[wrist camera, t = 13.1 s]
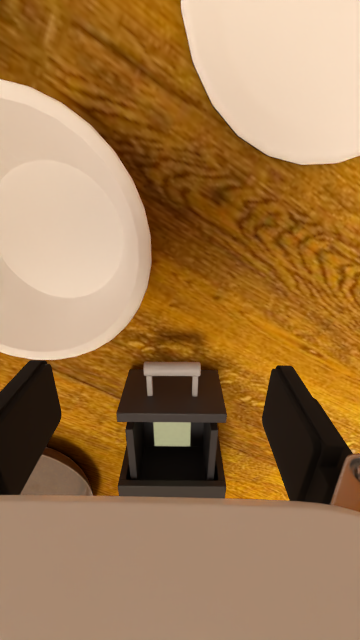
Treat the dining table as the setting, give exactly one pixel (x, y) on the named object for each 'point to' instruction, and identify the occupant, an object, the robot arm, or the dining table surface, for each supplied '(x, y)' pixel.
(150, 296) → the dining table surface
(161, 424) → the block
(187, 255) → the dining table surface
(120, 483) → the cabinet
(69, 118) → the bowl
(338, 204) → the dining table surface
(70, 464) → the plant saucer
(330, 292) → the dining table surface
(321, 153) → the plate
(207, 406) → the drawer
